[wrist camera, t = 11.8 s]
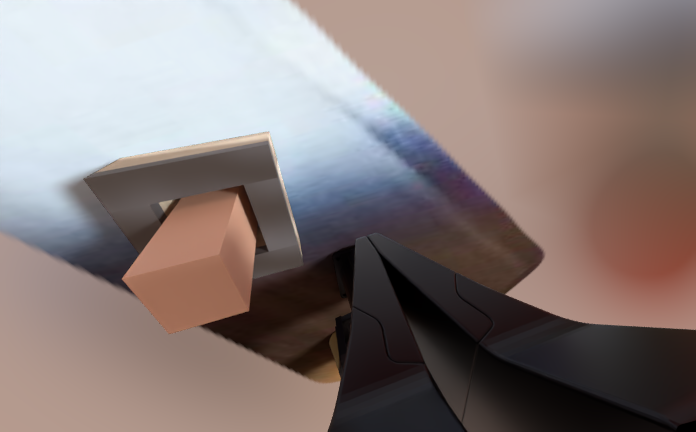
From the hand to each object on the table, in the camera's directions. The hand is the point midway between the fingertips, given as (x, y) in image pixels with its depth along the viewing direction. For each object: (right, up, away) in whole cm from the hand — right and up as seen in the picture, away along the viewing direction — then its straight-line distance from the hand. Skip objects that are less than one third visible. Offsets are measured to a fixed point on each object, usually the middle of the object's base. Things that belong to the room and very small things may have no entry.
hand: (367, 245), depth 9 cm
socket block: (-11, +2, +11) cm, 16 cm away
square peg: (-11, +2, +11) cm, 16 cm away
